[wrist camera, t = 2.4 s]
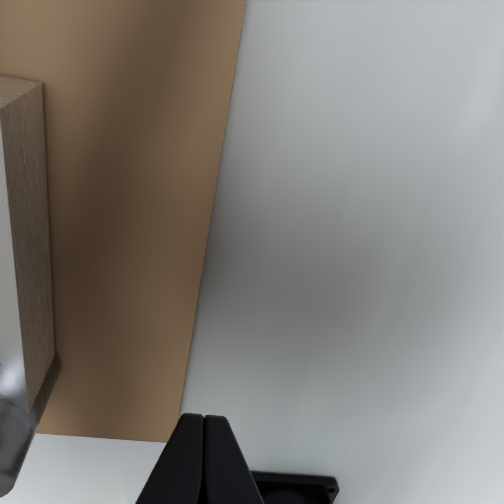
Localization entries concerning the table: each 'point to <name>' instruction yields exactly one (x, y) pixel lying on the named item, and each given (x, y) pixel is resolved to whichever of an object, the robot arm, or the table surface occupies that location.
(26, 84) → the bar
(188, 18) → the board
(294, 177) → the table surface
